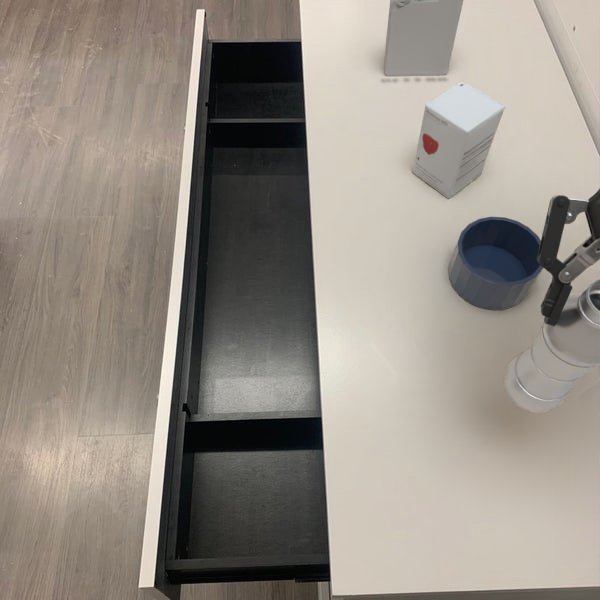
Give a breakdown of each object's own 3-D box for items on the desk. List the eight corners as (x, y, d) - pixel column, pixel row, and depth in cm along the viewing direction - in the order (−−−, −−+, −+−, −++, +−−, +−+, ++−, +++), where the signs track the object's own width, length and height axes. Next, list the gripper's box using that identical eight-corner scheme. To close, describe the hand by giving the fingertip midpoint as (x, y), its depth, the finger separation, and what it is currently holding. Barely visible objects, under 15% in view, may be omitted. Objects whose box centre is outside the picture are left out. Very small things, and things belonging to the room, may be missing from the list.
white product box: (410, 172, 95) (423, 103, 83) (444, 148, 98) (461, 78, 85) (448, 200, 92) (468, 132, 79) (482, 175, 94) (507, 105, 82)
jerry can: (372, 77, 110) (383, -54, 89) (371, 62, 113) (382, -69, 91) (447, 76, 109) (476, -57, 88) (444, 61, 112) (472, -72, 90)
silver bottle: (566, 378, 60) (663, 282, 43) (548, 429, 57) (644, 349, 40) (510, 352, 62) (581, 251, 44) (490, 401, 59) (557, 313, 42)
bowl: (547, 287, 82) (564, 260, 76) (483, 323, 79) (496, 299, 73) (493, 233, 88) (505, 205, 82) (432, 265, 85) (440, 238, 79)
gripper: (592, 103, 38) (503, 317, 43) (822, 159, 34) (697, 385, 39) (575, 116, 45) (500, 299, 50) (766, 164, 41) (665, 355, 46)
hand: (587, 336), depth 45 cm, fingers closed on silver bottle, 5 cm apart
